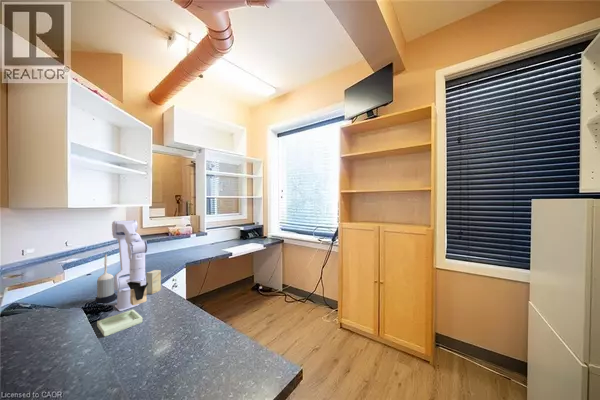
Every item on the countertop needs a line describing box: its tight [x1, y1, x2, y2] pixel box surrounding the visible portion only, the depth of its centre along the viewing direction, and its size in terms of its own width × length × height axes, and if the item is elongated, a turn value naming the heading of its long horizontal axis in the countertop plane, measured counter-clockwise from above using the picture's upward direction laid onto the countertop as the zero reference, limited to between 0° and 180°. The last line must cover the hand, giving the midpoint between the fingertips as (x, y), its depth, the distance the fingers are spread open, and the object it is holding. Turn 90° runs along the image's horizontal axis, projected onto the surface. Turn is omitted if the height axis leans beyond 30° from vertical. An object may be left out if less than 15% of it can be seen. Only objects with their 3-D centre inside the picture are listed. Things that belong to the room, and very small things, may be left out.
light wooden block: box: [145, 269, 162, 295], centre depth 127 cm, size 6×4×12 cm
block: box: [130, 288, 148, 306], centre depth 97 cm, size 4×5×6 cm
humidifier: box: [94, 254, 117, 304], centre depth 116 cm, size 8×8×25 cm
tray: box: [96, 309, 144, 338], centre depth 93 cm, size 13×13×2 cm
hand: (137, 298), depth 97 cm, fingers closed on block, 4 cm apart
